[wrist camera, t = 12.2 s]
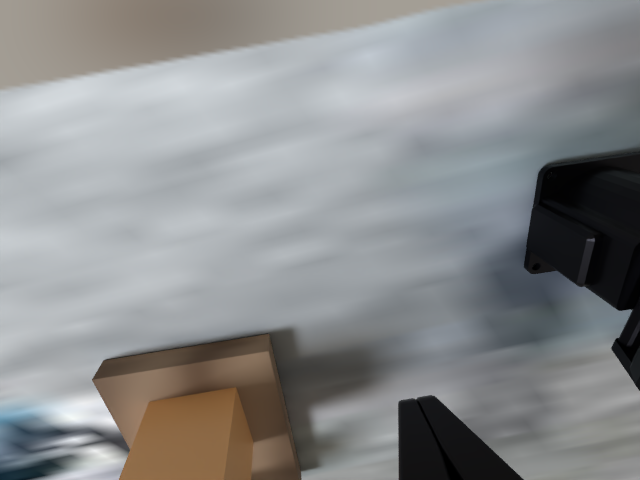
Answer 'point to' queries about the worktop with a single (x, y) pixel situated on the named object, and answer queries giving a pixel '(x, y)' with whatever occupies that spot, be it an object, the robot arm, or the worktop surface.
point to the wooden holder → (204, 376)
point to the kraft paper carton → (192, 440)
